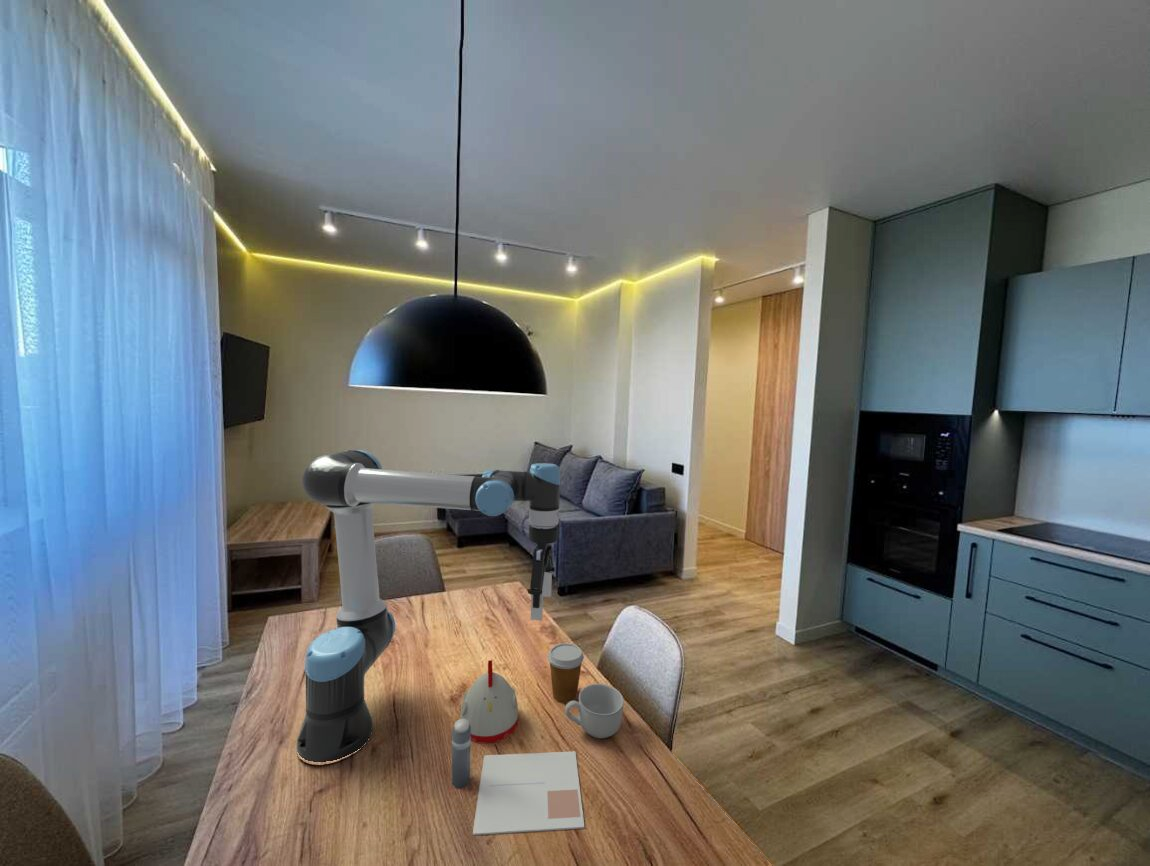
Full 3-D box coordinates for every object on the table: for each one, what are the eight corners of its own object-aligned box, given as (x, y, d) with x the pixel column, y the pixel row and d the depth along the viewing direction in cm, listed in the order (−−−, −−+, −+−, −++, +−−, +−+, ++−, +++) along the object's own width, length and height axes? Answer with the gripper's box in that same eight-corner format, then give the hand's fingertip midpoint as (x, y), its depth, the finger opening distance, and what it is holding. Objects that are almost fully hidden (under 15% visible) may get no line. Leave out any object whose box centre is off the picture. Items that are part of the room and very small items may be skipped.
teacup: (619, 714, 112) (620, 683, 111) (625, 746, 101) (626, 712, 101) (564, 714, 111) (564, 683, 111) (564, 746, 100) (565, 712, 100)
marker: (449, 788, 89) (450, 730, 88) (453, 773, 92) (454, 717, 92) (468, 787, 89) (469, 729, 88) (471, 772, 93) (472, 717, 92)
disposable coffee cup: (579, 709, 113) (580, 664, 112) (542, 704, 115) (543, 659, 114) (585, 687, 122) (586, 644, 122) (552, 682, 124) (552, 640, 124)
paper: (472, 835, 79) (472, 833, 79) (484, 756, 97) (484, 755, 97) (584, 828, 81) (584, 826, 81) (575, 752, 99) (575, 751, 99)
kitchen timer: (458, 747, 100) (459, 682, 99) (461, 707, 113) (461, 649, 112) (520, 738, 103) (521, 675, 102) (515, 700, 116) (516, 644, 115)
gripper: (550, 539, 100) (548, 632, 101) (564, 514, 124) (562, 588, 125) (518, 537, 100) (515, 629, 101) (538, 513, 125) (536, 587, 126)
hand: (541, 607), depth 113 cm, fingers open, 13 cm apart
